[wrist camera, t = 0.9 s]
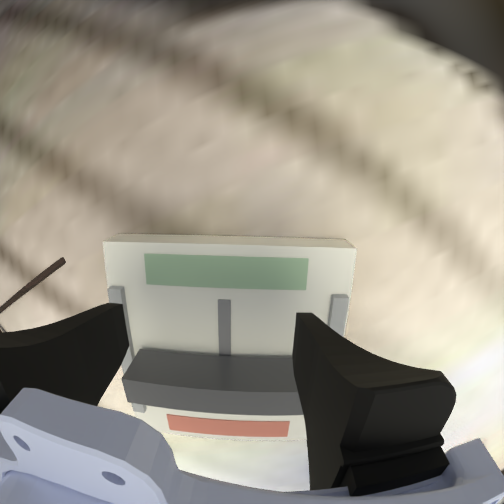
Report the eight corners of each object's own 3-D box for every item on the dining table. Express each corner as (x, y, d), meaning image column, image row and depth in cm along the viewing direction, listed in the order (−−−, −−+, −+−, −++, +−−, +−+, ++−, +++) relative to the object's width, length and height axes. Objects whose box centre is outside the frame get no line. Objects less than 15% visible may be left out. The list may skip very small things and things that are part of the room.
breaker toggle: (310, 379, 20) (318, 414, 16) (144, 370, 20) (127, 402, 16) (314, 357, 19) (323, 391, 16) (139, 348, 19) (121, 378, 16)
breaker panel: (316, 420, 24) (321, 443, 22) (146, 410, 25) (137, 433, 22) (345, 239, 20) (359, 250, 17) (118, 233, 20) (98, 243, 17)
